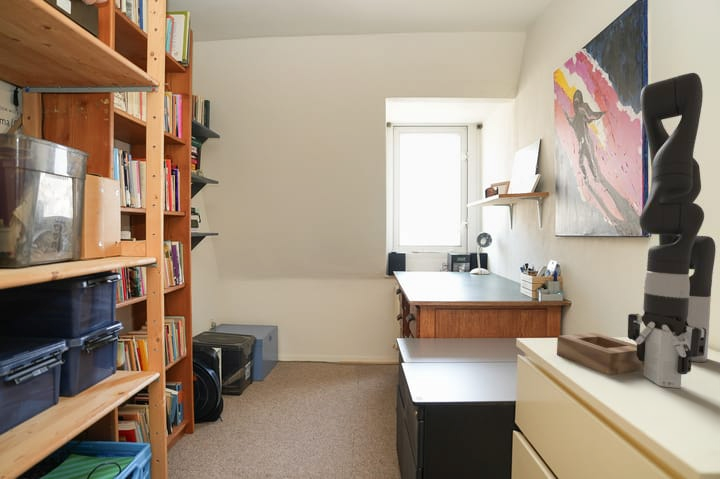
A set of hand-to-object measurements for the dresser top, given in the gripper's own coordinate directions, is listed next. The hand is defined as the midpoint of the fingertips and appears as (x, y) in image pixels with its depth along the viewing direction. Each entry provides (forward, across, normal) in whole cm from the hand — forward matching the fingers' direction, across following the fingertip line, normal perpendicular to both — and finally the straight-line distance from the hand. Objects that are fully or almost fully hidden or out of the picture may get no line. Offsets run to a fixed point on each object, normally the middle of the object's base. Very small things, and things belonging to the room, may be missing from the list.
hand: (661, 366), depth 78 cm
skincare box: (+4, 0, 0) cm, 4 cm away
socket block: (+3, +13, +1) cm, 13 cm away
